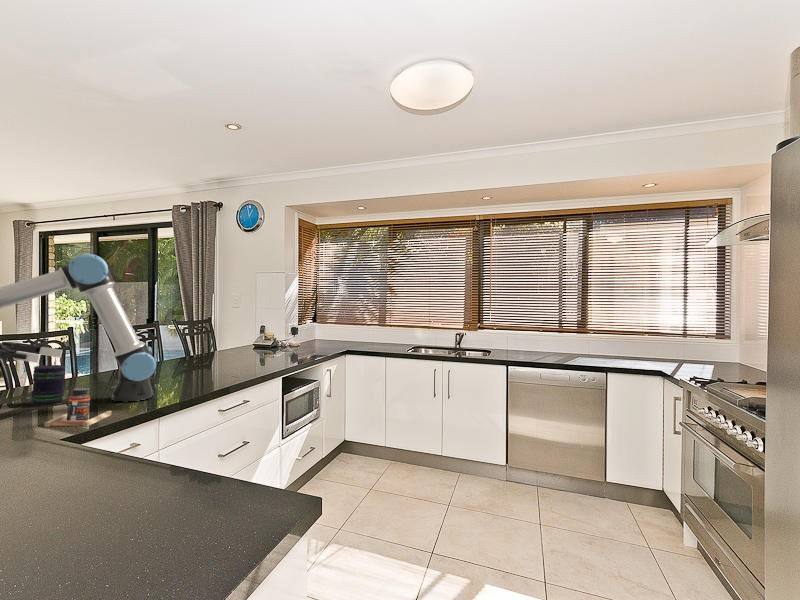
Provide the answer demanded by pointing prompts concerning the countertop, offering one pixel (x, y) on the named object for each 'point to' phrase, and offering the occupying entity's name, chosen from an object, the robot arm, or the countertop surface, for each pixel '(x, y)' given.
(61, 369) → the storage jar
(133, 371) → the robot arm
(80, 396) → the supplement bottle
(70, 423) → the guide channel
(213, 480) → the countertop surface
